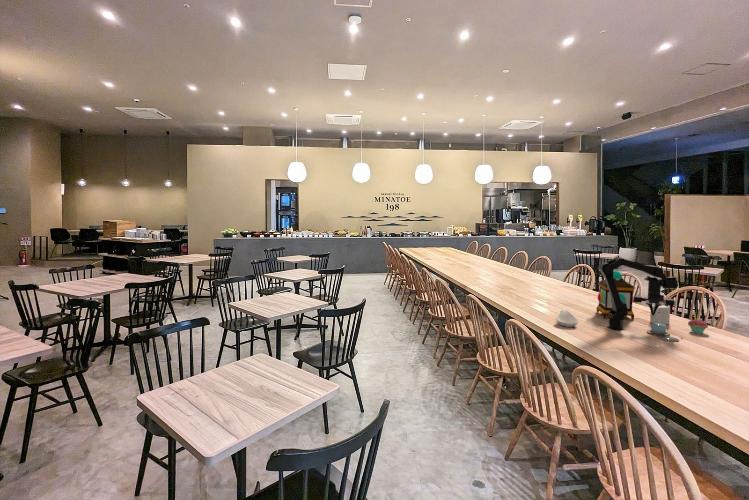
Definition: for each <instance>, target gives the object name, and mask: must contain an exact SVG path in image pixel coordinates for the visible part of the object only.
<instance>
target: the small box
mask: <svg viewBox="0 0 749 500" xmlns="http://www.w3.org/2000/svg"><path fill="white" fill-rule="evenodd" d="M654 305H655V304H654ZM654 305H653V304H652V308H653V310H654ZM670 314H671V307H669V306H668V305H664V304H662V306H659V307H658V308H657V310H656V312H655V314H654V316H653V315H652V313H651V312H650V315H649V316H650V318H649V322H650V324H651V323H662V324H665V325H670V319H671V318H670V317H671V316H670Z"/></svg>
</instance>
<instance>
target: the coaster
mask: <svg viewBox="0 0 749 500" xmlns="http://www.w3.org/2000/svg"><path fill="white" fill-rule="evenodd" d="M658 339H660V340H661V341H666V342H671V343H676V342H677V343H678V342H679V341H680V338H676V337H674V336H658Z"/></svg>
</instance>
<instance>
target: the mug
mask: <svg viewBox="0 0 749 500" xmlns="http://www.w3.org/2000/svg"><path fill="white" fill-rule="evenodd" d="M650 325H651V326H650V327H651V328H650V330H651V333H654V334H661V335H665V334H666V332H667V324H662V323H651V322H650Z"/></svg>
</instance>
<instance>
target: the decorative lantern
mask: <svg viewBox="0 0 749 500" xmlns="http://www.w3.org/2000/svg"><path fill="white" fill-rule="evenodd" d="M613 272H614V275H613V278H614V281H615V284H616V287H617V290H618V293H619V296H620V299H621V301H623V302H624V303H626V305H627V309H628V310H627V311H628V314H627V315H626V316H628V317H630V320H631V321H634V319H635V314H634V312H633V302H634V295H633V294H634V291H635V289H636V287H634V285H632V284H631V283H629V282H627V281H626V280H625V279H624V277H623V274H622V273H621V272H620V271H618V270H613ZM597 284H598V287H599V289H598V290H599V293H598V294H597V301H598V305H597V307H596V313H597V312H599V313H601V314H602V318H603V319H604V318H605V319H606V317H607V316H609V314H608V312H610V311H611V310H612V298H611V295H610V292H609V289H608V286H607V283H606V281H605V279H601V280H599V281H598V282H597ZM626 316H625V317H626Z"/></svg>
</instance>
